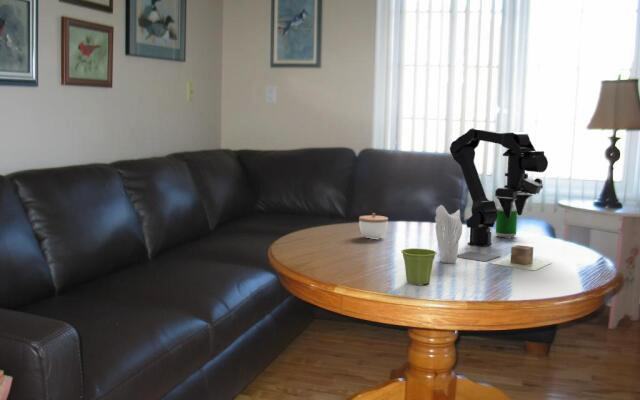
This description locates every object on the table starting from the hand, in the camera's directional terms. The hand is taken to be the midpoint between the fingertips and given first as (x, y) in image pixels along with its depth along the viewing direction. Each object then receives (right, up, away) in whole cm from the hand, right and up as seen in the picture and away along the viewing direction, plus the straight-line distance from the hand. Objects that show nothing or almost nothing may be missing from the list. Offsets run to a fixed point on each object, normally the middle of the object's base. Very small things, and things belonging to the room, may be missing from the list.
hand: (514, 216), depth 223 cm
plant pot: (-39, -17, -43) cm, 60 cm away
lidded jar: (-45, -9, +23) cm, 52 cm away
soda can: (+6, -9, +30) cm, 32 cm away
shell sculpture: (-25, -14, -16) cm, 33 cm away
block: (-3, -14, -17) cm, 22 cm away
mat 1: (-14, -13, -8) cm, 21 cm away
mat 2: (-3, -14, -17) cm, 22 cm away
